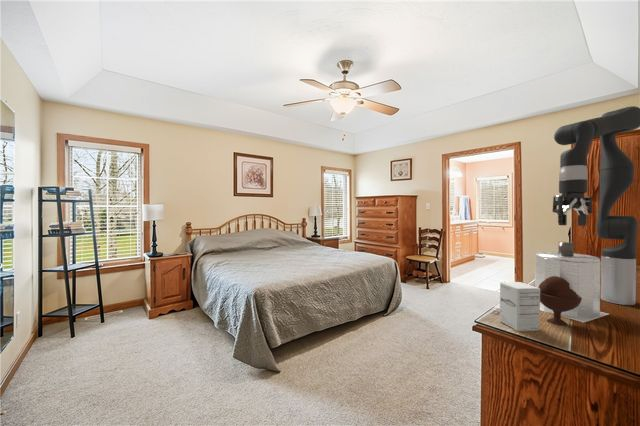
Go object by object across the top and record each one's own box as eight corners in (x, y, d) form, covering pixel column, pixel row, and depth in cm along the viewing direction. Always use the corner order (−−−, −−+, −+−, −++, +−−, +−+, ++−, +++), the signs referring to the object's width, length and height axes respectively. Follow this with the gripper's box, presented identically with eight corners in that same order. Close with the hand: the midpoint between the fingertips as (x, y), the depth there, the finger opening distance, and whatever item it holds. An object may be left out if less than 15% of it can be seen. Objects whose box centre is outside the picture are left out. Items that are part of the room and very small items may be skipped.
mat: (550, 300, 109) (550, 299, 109) (609, 315, 94) (609, 314, 94) (524, 306, 102) (524, 305, 102) (583, 324, 87) (583, 322, 87)
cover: (550, 299, 109) (551, 239, 109) (609, 314, 94) (610, 244, 94) (524, 305, 102) (525, 241, 102) (583, 322, 87) (584, 246, 87)
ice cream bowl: (590, 333, 81) (591, 281, 80) (546, 329, 83) (547, 278, 83) (566, 318, 91) (567, 272, 91) (527, 316, 93) (528, 271, 93)
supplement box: (498, 321, 89) (499, 281, 88) (520, 320, 89) (520, 281, 89) (516, 331, 81) (517, 288, 81) (540, 330, 82) (541, 287, 82)
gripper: (577, 182, 104) (576, 225, 104) (545, 180, 101) (545, 224, 101) (601, 179, 97) (600, 226, 97) (567, 177, 94) (567, 225, 94)
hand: (572, 225), depth 99 cm, fingers open, 8 cm apart
